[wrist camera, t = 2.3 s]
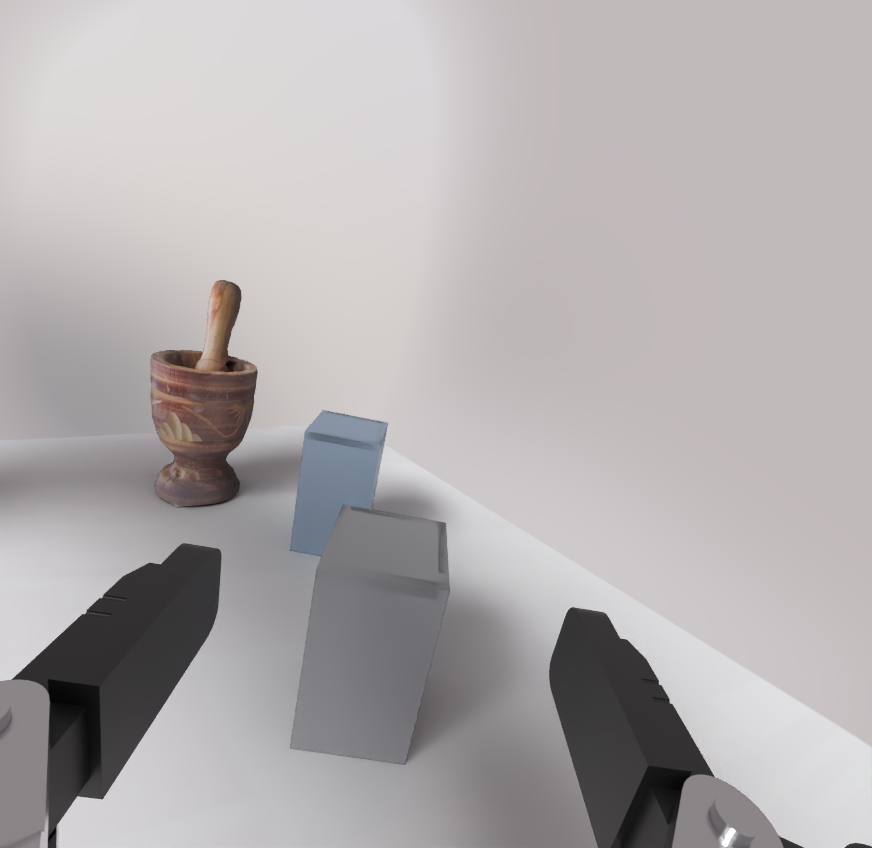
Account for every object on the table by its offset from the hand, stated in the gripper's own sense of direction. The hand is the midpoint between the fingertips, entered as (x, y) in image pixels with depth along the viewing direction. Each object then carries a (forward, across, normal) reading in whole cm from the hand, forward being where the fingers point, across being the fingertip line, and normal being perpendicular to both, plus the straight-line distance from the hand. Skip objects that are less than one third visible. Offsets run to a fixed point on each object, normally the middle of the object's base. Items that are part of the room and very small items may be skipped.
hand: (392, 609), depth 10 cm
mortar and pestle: (+34, +20, +16) cm, 42 cm away
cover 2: (+12, 0, +16) cm, 20 cm away
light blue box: (+28, +5, +16) cm, 33 cm away
